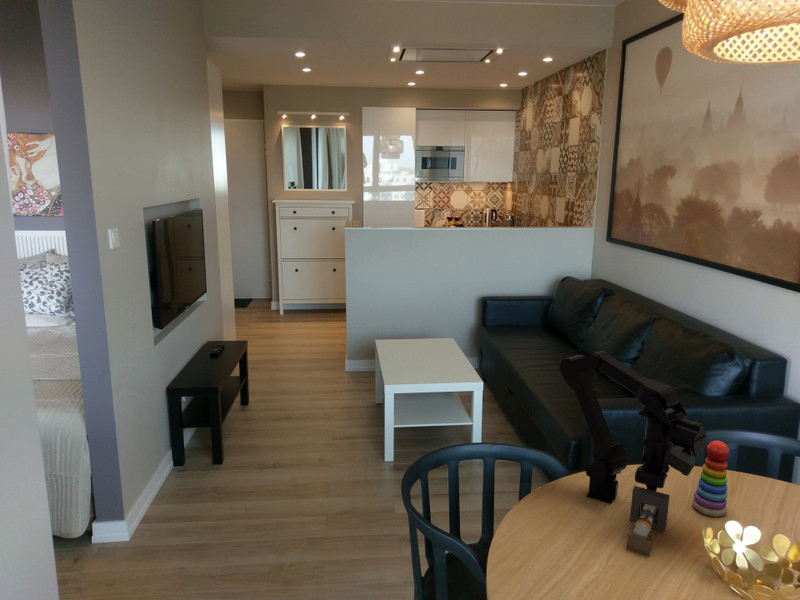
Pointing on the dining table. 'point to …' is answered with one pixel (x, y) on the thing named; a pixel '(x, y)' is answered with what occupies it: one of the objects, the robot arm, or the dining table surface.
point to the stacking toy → (713, 481)
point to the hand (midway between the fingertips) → (652, 495)
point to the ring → (650, 499)
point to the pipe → (642, 531)
